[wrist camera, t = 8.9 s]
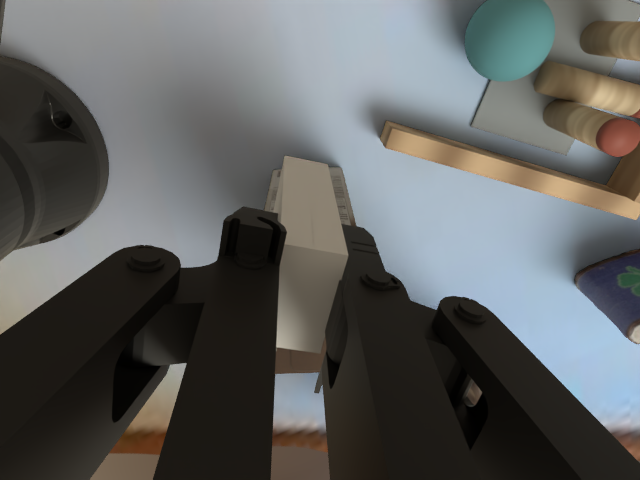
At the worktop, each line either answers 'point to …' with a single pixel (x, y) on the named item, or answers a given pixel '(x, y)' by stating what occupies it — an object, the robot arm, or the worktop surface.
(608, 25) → the pin
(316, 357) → the coffee box
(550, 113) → the pin
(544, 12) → the ball
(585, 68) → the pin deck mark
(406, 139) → the lane
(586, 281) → the flask
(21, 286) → the worktop surface
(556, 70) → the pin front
